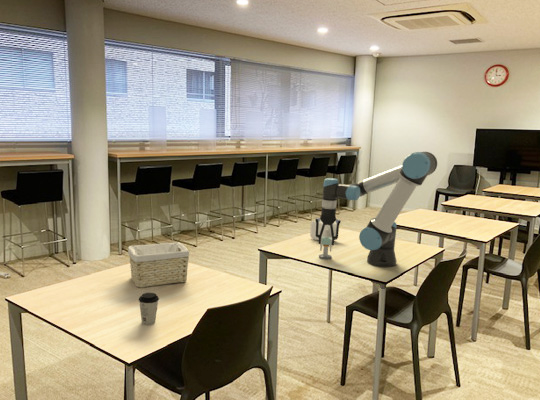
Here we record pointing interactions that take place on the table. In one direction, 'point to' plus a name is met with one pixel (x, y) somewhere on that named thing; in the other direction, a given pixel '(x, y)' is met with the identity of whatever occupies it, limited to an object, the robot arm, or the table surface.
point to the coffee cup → (148, 308)
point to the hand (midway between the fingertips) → (325, 250)
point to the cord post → (325, 249)
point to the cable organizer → (313, 230)
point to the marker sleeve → (326, 240)
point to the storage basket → (158, 264)
